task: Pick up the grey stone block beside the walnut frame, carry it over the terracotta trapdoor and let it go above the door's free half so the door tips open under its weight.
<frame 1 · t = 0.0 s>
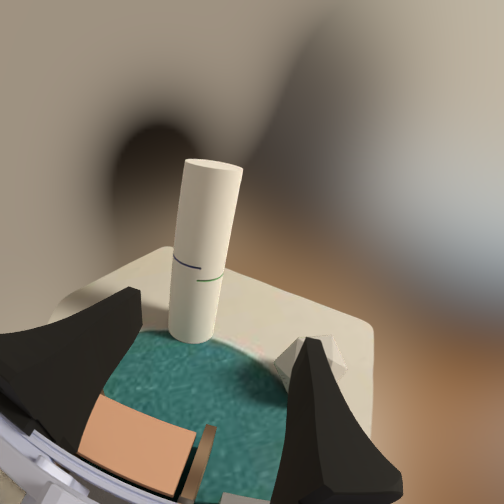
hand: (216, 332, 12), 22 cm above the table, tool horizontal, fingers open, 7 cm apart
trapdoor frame: (124, 490, 18), on the table
cylindrical container: (190, 329, 44), on the table
trapdoor: (123, 463, 18), point 4 cm above the table, hinge at 0.0°
die: (301, 386, 37), on the table
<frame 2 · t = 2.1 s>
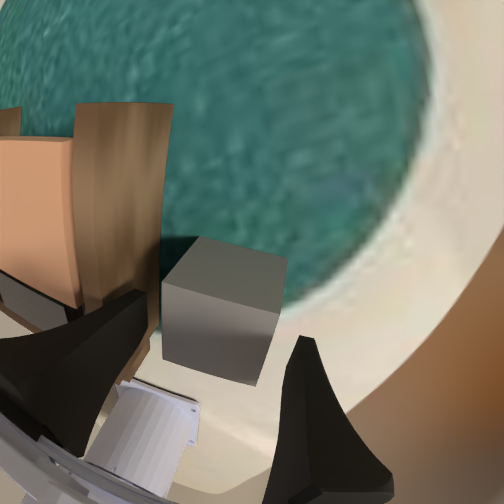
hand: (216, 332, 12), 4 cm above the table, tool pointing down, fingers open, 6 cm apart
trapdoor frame: (72, 237, 16), on the table
stone: (236, 283, 15), on the table
trapdoor: (22, 239, 11), point 4 cm above the table, hinge at 0.0°
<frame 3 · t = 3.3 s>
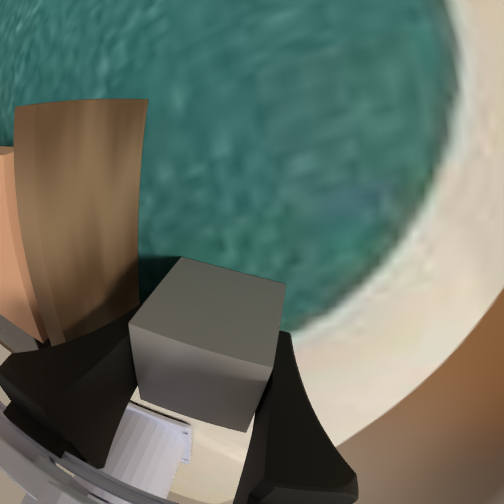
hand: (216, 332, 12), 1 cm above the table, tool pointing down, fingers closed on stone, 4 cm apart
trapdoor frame: (48, 252, 14), on the table
stone: (225, 311, 13), on the table, touching gripper
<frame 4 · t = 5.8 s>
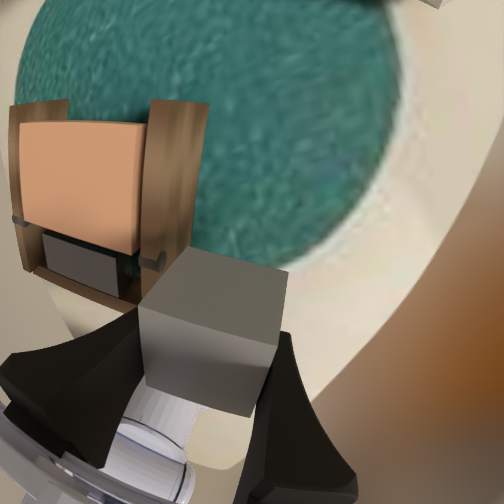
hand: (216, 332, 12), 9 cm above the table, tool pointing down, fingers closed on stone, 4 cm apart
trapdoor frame: (114, 209, 20), on the table
stone: (229, 300, 13), point 7 cm above the table, touching gripper
trapdoor: (78, 205, 16), point 4 cm above the table, hinge at 0.0°
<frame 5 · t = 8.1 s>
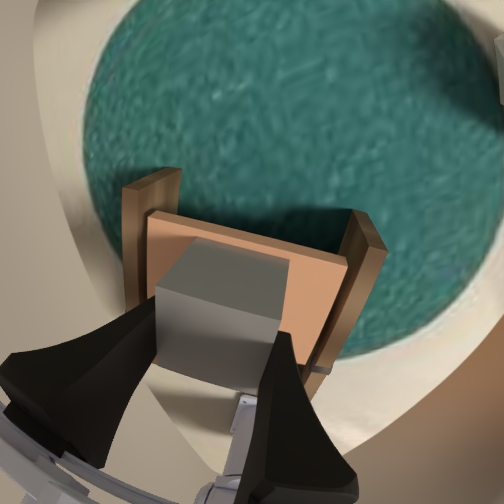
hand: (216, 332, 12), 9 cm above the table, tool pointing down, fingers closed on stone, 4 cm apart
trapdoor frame: (242, 296, 22), on the table
stone: (235, 287, 15), point 6 cm above the table, touching gripper
trapdoor: (232, 313, 17), point 4 cm above the table, hinge at -0.4°
when the fingers open (9 cm above the table, at t = 8.1 s): stone stays where it is, resting on trapdoor.
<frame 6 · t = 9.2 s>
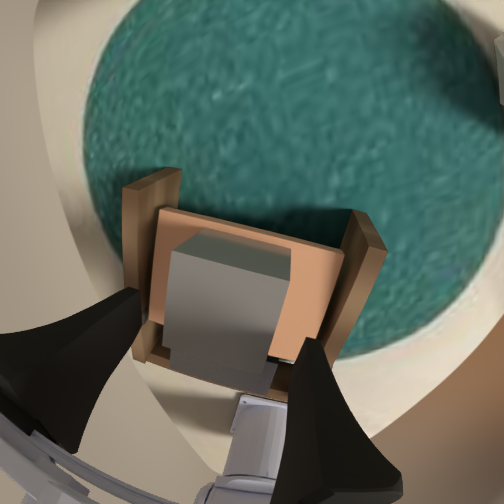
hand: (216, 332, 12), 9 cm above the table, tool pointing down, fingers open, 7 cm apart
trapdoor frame: (242, 296, 22), on the table
stone: (239, 278, 15), point 5 cm above the table, tilted 11°, touching trapdoor
trapdoor: (233, 312, 17), point 4 cm above the table, hinge at -10.8°, touching stone
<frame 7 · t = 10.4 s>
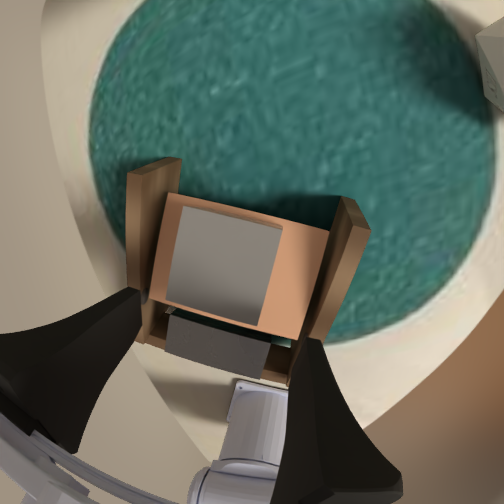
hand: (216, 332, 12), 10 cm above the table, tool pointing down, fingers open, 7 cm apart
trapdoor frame: (237, 280, 23), on the table
stone: (235, 253, 17), point 4 cm above the table, tilted 19°, touching trapdoor
trapdoor: (229, 292, 19), point 4 cm above the table, hinge at -19.3°, touching stone
die: (501, 78, 12), on the table
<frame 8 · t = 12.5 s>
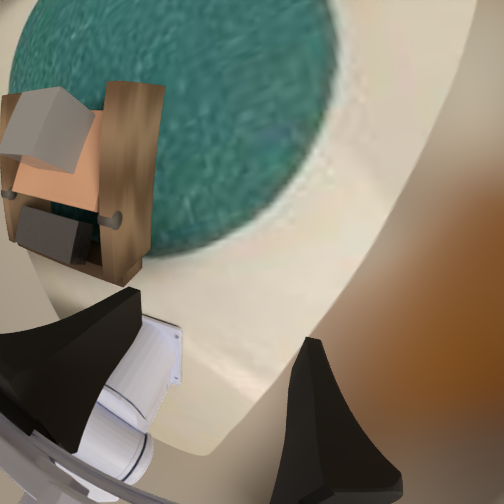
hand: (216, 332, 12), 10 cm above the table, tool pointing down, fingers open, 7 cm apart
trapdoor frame: (89, 184, 21), on the table
stone: (63, 142, 17), point 3 cm above the table, tilted 29°, touching trapdoor
trapdoor: (61, 182, 18), point 4 cm above the table, hinge at -28.5°, touching stone
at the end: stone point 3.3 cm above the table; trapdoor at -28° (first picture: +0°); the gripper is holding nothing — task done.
